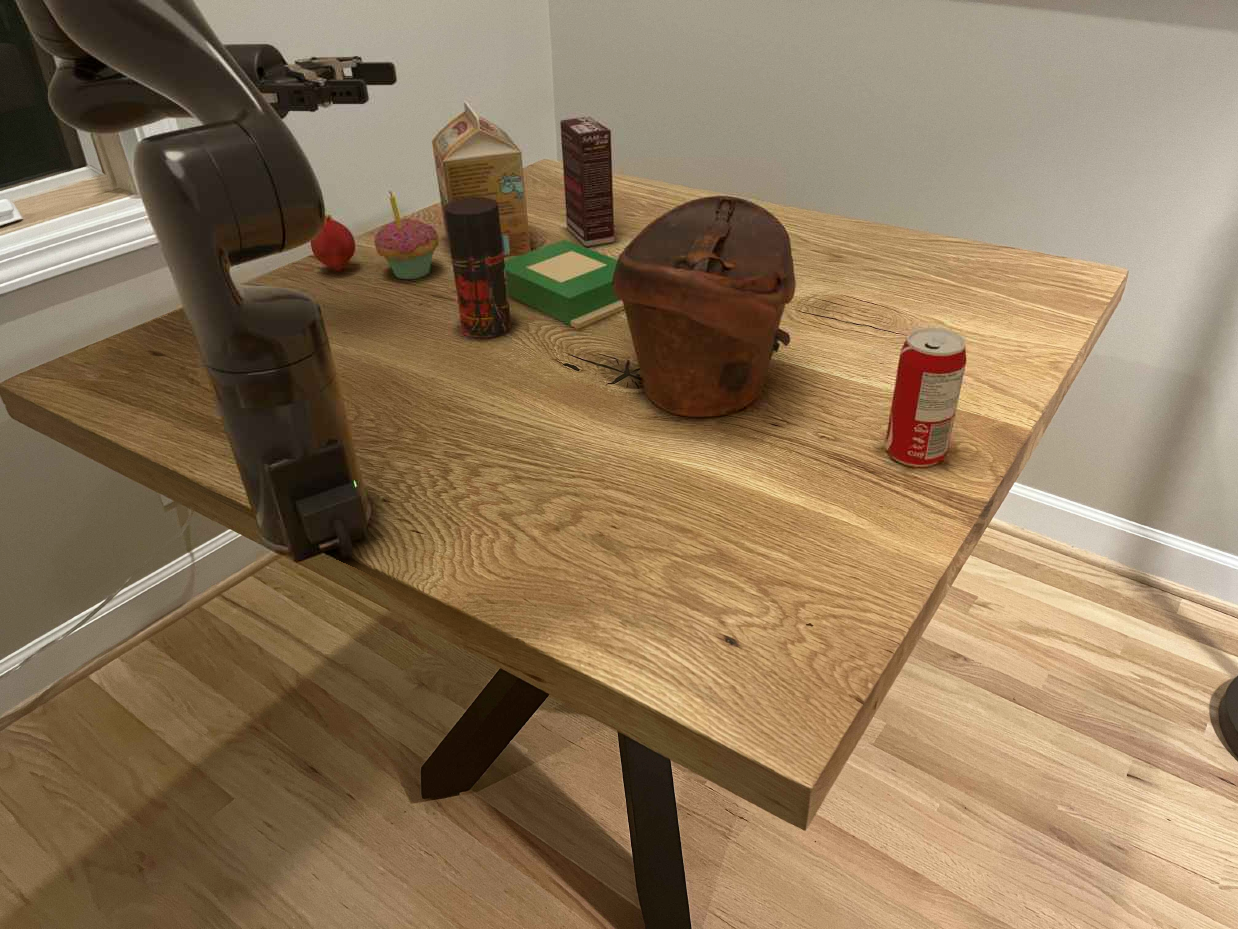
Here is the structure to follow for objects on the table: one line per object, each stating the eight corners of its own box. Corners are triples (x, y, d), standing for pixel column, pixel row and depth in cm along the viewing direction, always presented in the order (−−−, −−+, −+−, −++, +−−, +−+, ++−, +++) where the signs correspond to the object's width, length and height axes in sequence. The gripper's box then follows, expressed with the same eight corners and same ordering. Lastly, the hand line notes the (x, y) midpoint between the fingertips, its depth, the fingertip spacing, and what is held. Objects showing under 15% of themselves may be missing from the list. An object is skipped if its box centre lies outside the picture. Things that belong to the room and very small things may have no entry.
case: (648, 454, 85) (645, 276, 75) (596, 360, 101) (588, 202, 91) (822, 422, 89) (841, 248, 79) (745, 336, 105) (753, 182, 95)
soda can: (900, 430, 87) (919, 317, 80) (955, 449, 84) (980, 333, 78) (874, 456, 84) (892, 340, 77) (930, 476, 81) (954, 358, 74)
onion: (308, 274, 125) (294, 217, 120) (337, 259, 129) (324, 204, 124) (340, 281, 122) (327, 223, 118) (368, 266, 126) (357, 210, 122)
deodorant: (456, 323, 110) (438, 202, 102) (502, 313, 112) (488, 193, 104) (470, 342, 106) (452, 217, 97) (518, 332, 108) (505, 208, 99)
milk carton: (446, 237, 135) (426, 104, 124) (515, 228, 137) (502, 96, 126) (457, 263, 126) (437, 122, 115) (530, 252, 129) (517, 113, 118)
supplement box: (616, 242, 131) (612, 129, 122) (585, 248, 129) (578, 134, 120) (595, 223, 137) (590, 115, 128) (565, 228, 136) (558, 119, 127)
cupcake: (429, 286, 120) (414, 197, 113) (369, 283, 121) (351, 194, 114) (451, 261, 127) (439, 176, 120) (395, 259, 128) (379, 174, 121)
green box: (649, 298, 114) (649, 271, 112) (577, 329, 108) (575, 300, 106) (560, 262, 125) (558, 236, 123) (490, 287, 119) (487, 261, 117)
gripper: (190, 58, 88) (348, 56, 86) (256, 32, 100) (397, 30, 98) (212, 137, 92) (363, 137, 90) (273, 103, 104) (409, 103, 102)
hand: (381, 82), depth 94 cm, fingers open, 8 cm apart
